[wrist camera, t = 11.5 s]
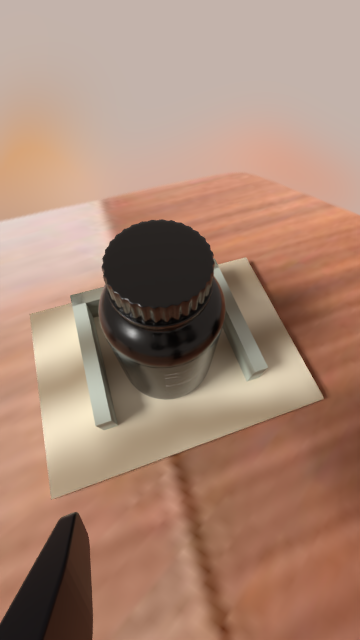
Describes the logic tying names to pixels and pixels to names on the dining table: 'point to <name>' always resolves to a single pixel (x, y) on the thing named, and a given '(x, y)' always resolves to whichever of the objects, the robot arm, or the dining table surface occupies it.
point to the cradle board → (150, 413)
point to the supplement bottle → (161, 307)
